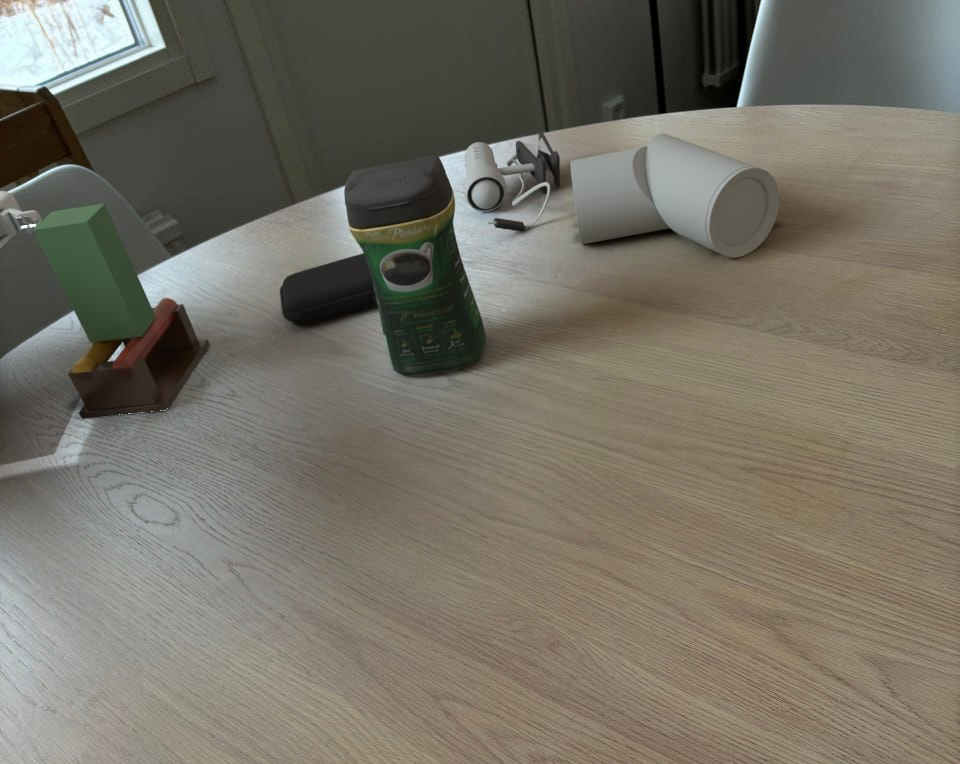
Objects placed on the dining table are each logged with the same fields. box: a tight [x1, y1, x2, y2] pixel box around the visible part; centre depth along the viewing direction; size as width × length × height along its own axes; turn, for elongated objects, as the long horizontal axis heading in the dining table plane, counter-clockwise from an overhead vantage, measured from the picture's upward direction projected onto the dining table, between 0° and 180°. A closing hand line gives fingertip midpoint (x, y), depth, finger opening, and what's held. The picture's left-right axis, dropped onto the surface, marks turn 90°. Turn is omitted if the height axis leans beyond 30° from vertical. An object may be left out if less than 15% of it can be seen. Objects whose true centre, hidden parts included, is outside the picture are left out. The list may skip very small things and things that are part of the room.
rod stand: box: [67, 297, 211, 420], centre depth 110 cm, size 10×13×6 cm
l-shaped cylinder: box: [569, 133, 780, 259], centre depth 108 cm, size 18×10×20 cm
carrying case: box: [279, 253, 378, 326], centre depth 115 cm, size 11×3×15 cm
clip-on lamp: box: [463, 131, 561, 232], centre depth 124 cm, size 12×6×18 cm
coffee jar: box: [343, 154, 487, 377], centre depth 97 cm, size 10×8×19 cm
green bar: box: [33, 203, 156, 344], centre depth 104 cm, size 6×4×12 cm, turn 80°
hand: (16, 241), depth 103 cm, fingers open, 8 cm apart
